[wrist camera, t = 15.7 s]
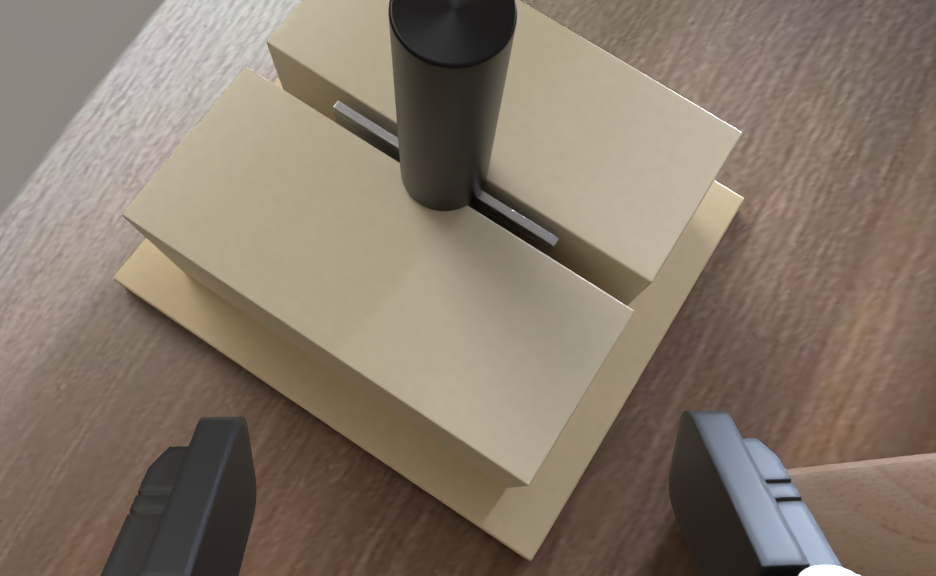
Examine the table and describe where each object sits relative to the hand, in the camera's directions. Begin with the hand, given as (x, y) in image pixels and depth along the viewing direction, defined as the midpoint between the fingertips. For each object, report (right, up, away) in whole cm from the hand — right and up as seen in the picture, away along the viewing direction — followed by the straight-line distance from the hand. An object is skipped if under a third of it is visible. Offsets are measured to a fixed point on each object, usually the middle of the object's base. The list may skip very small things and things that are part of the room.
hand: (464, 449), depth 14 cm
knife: (-1, +5, +15) cm, 15 cm away
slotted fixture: (-1, +5, +16) cm, 16 cm away
